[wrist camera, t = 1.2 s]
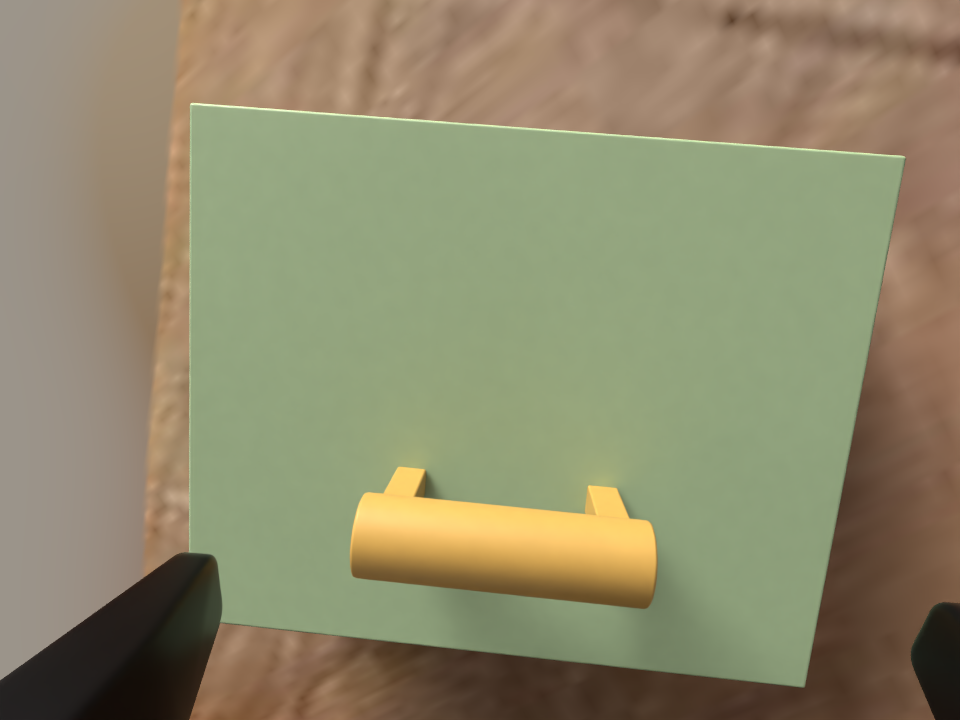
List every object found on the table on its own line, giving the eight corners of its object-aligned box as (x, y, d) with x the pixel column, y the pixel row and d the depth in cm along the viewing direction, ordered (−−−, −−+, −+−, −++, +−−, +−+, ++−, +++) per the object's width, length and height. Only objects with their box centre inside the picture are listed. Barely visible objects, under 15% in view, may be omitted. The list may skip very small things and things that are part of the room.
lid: (793, 670, 16) (896, 829, 12) (201, 605, 17) (88, 732, 12) (888, 160, 14) (1059, 119, 10) (203, 108, 15) (68, 48, 10)
